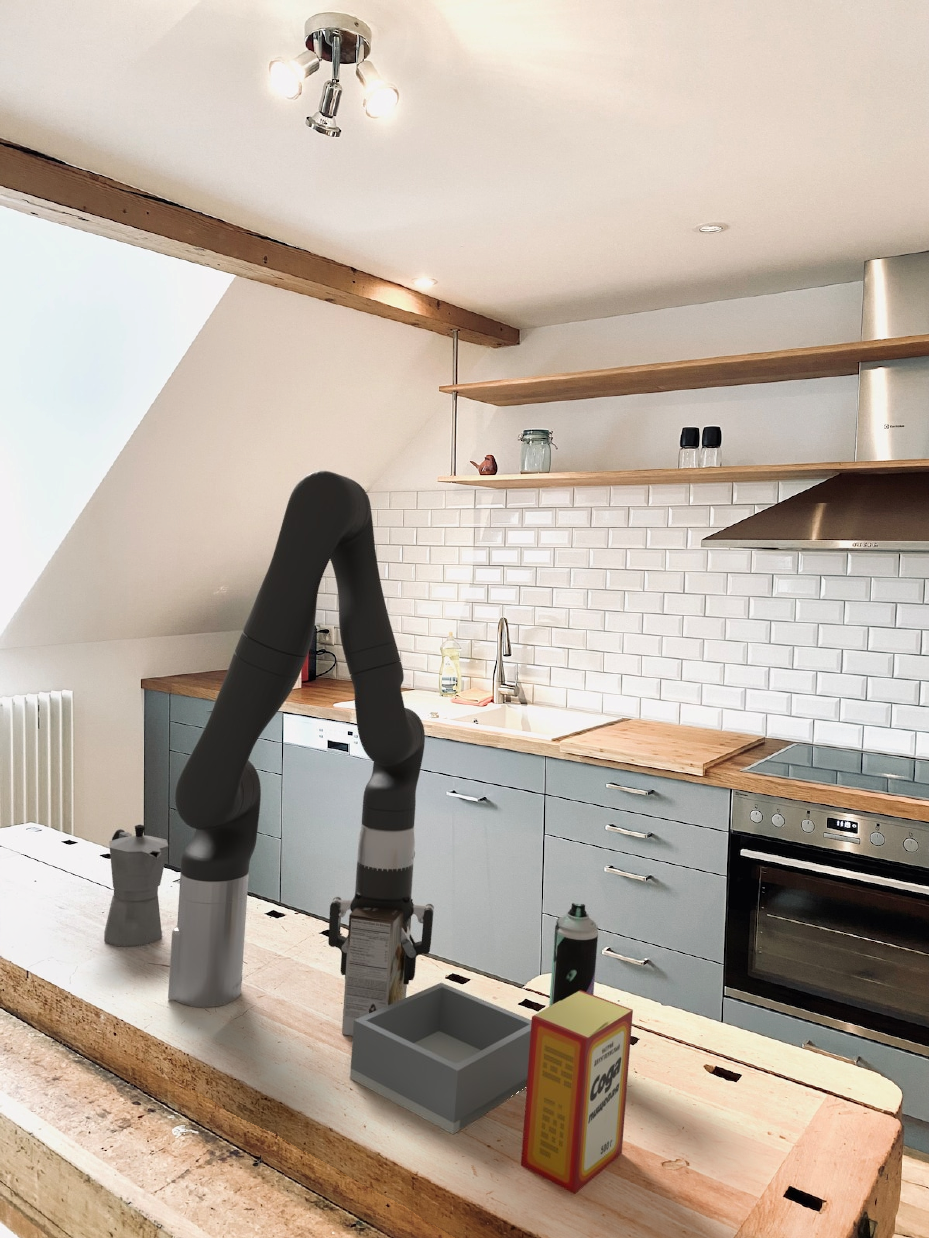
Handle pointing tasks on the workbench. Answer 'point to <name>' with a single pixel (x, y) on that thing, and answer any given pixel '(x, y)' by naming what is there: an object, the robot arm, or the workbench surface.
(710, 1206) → the workbench surface
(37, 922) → the workbench surface
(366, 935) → the coffee box
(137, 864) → the coffeepot
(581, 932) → the spray can
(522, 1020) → the tote
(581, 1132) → the baking soda box
